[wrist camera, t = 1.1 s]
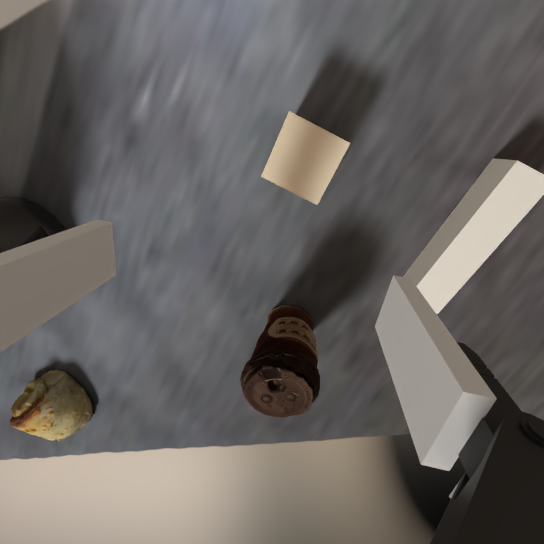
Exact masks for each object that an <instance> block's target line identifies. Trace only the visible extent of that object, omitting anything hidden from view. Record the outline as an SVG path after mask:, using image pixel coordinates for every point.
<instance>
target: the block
mask: <svg viewBox="0 0 544 544" xmlns="http://www.w3.org/2000/svg"><path fill="white" fill-rule="evenodd" d="M349 145H350V143H349V142H347V141H345V140H343V139H341V138H340V137H338V136H336V135H334V134H332V133H330V132H328V131H326V130H324V129H322V128H320V127H318V126H317V125H315V124H313V123H311V122H309V121H307V120H305V119H303V118H301V117H299V116H297V115H296V114H294V113H292V112H290V111H289V113H288V115H287V117H286V120H285V122H284V124H283V127H282V129H281V131H280V134H279V136H278V138H277V141H276V143H275V145H274V148H273V150H272V152H271V155H270V157H269V160H268V162H267V164H266V167H265V169H264V171H263V174H262V176H261V177H263V178H265V179H267V180H269V181H271V182H273V183H275V184H277V185H279V186H281V187H283V188H285V189H287V190H289V191H290V192H292V193H294V194H296V195H298V196H300V197H302V198H304V199H306V200H308V201H310V202H312V203H314V204H316V205H318V203H319V201H320V199H321V197H322V195H323V193H324V192H325V190H326V188H327V186H328V184H329V182H330V180H331V179H332V177H333V175H334V173H335V171H336V169H337V167H338V165H339V164H340V162H341V160H342V158H343V156H344V154H345V152H346V151H347V149H348V147H349Z"/></svg>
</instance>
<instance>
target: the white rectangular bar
mask: <svg viewBox="0 0 544 544" xmlns="http://www.w3.org/2000/svg"><path fill="white" fill-rule="evenodd" d="M543 195H544V174H542V173H540V172H538V171H536V170H534V169H532V168H531V167H529V166H527V165H525V164H523V163H521V162H520V161H518V160H506V159H494V158H493V159H492V160H491V162H490V163H489V164H488V165H487V167H486V168H485V169H484V171H483V172H482V173H481V175H480V176H479V177H478V179H477V180H476V181H475V183H474V184H473V185H472V186H471V188H470V189H469V190H468V192H467V193H466V194H465V196H464V197H463V198H462V200H461V201H460V202H459V203H458V205H457V206H456V207H455V209H454V210H453V211H452V213H451V214H450V215H449V217H448V218H447V219H446V221H445V222H444V223H443V224H442V226H441V227H440V228H439V230H438V231H437V232H436V234H435V235H434V236H433V238H432V239H431V240H430V241H429V243H428V244H427V245H426V247H425V248H424V249H423V251H422V252H421V253H420V255H419V256H418V257H417V259H416V260H415V261H414V262H413V264H412V265H411V266H410V268H409V269H408V270H407V272H406V273H405V274H404V276H403V277H405V278H410V279H411V280H412V281H413V282H414V284H415V285H416V287H417V288H418V289H419V291H420V292H421V294H422V295H423V296H424V298H425V299H426V300H427V302H428V303H429V305H430V306H431V307H432V309H433V310H434V312H435V313H436V314H438V313H439V312H440V311H441V310H442V309H443V307H444V306H445V305H446V304H447V303H448V302H449V301H450V300H451V298H452V297H453V296H454V295H455V294H456V293H457V292H458V291H459V289H460V288H461V287H462V286H463V285H464V284H465V283H466V282H467V280H468V279H469V278H470V277H471V276H472V275H473V274H474V273H475V271H476V270H477V269H478V268H479V267H480V266H481V265H482V264H483V262H484V261H485V260H486V259H487V258H488V257H489V256H490V255H491V253H492V252H493V251H494V250H495V249H496V248H497V247H498V245H499V244H500V243H501V242H502V241H503V240H504V239H505V238H506V236H507V235H508V234H509V233H510V232H511V231H512V230H513V229H514V227H515V226H516V225H517V224H518V223H519V222H520V221H521V220H522V218H523V217H524V216H525V215H526V214H527V213H528V212H529V211H530V209H531V208H532V207H533V206H534V205H535V204H536V203H537V202H538V200H539V199H540V198H541V197H542V196H543Z"/></svg>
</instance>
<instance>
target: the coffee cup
mask: <svg viewBox="0 0 544 544" xmlns="http://www.w3.org/2000/svg"><path fill="white" fill-rule="evenodd" d="M317 362H318V358H317V350H316V340H315V336H314V333H313V323H312V319H311V317H310V316H309V314H308V313H307V312H305V311H304V310H303V309H302V308H299V307H296V306H290V305H287V306H279V307H278V308H275V309H273V310H272V311H271V313H270V315H269V316H268V320H267V325H266V327H265V329H264V332H263V333H262V334H261V336H260V337H259V339H258V341H257V343H256V347H255V350H254V352H253V355H252V357H251V359H250V360H249V361H248V362H247V363H246V365H245V367H244V369H243V371H242V375H241V378H240V381H241V386H242V391H243V394H244V397H245V399H246V400H247V401H248V403H249V404H250V405H251V406H252V407H253V408H254V409H255V410H257V411H259V412H261V413H263V414H265V415H268V416H274V417H282V418H283V417H287V416H293V415H299V414H302V413H304V412H305V411H307V410H308V409H309V407H310V406H311V404H312V403H313V402H314V401H315V399H316V398H317V396H318V393H319V389H320V375H319V372H318V369H317Z"/></svg>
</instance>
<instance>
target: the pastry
mask: <svg viewBox="0 0 544 544" xmlns="http://www.w3.org/2000/svg"><path fill="white" fill-rule="evenodd" d="M92 408H93V407H92V403H91V400H90V398H89V396H88V395H87V393H86V390H85V389H84V388H83V387H82V386H81V385H79V384H78V383H77V382H76V381H75V380H74V379H73V378H72V377H71V375H69V374H67V373H66V371H62V370H58V369H55V370H52V371H48V372H47V373H45V374H43V375H42V376H40V377H39V378H38V379H37V380H33V381H31V382H29V383H28V385H27V386H26V388H25V390H24V393H23V394H22V395H20V396H19V397H18V399H17V400H16V401H15V403H14V404H13V406H12V408H11V411H12V415H13V416H12V418H11V420H10V425H11V426H12V427H14V428H16V429H19V430H22V431H24V432H27V433H29V434H32V435H36V436H39V437H40V438H46V439H48V440H56V439H57V440H58V441H61V440H62V439H65V438H67V437H69V436H70V435H72V434H74V433H75V432H77V431H78V430H79V429H81V428H83V427H84V426H85V425H86V424H87V423H88V422H89V421H90V420H91V418H92V416H93V412H92V410H93V409H92Z"/></svg>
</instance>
